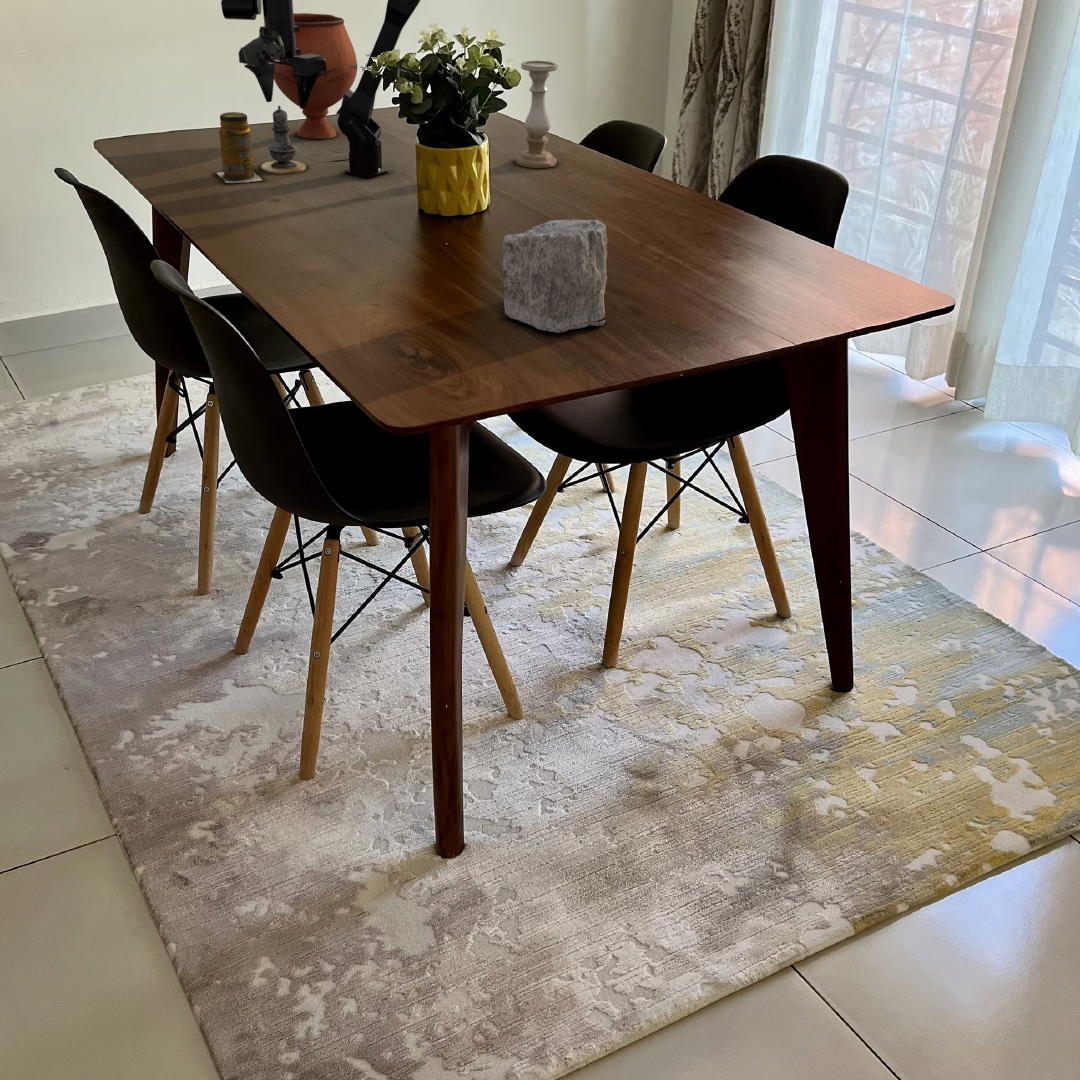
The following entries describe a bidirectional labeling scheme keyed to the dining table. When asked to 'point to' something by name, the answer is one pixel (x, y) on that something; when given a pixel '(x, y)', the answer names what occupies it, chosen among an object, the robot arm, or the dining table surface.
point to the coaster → (268, 168)
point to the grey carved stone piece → (282, 142)
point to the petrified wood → (556, 274)
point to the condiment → (236, 149)
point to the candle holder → (537, 118)
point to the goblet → (341, 63)
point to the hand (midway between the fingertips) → (285, 105)
